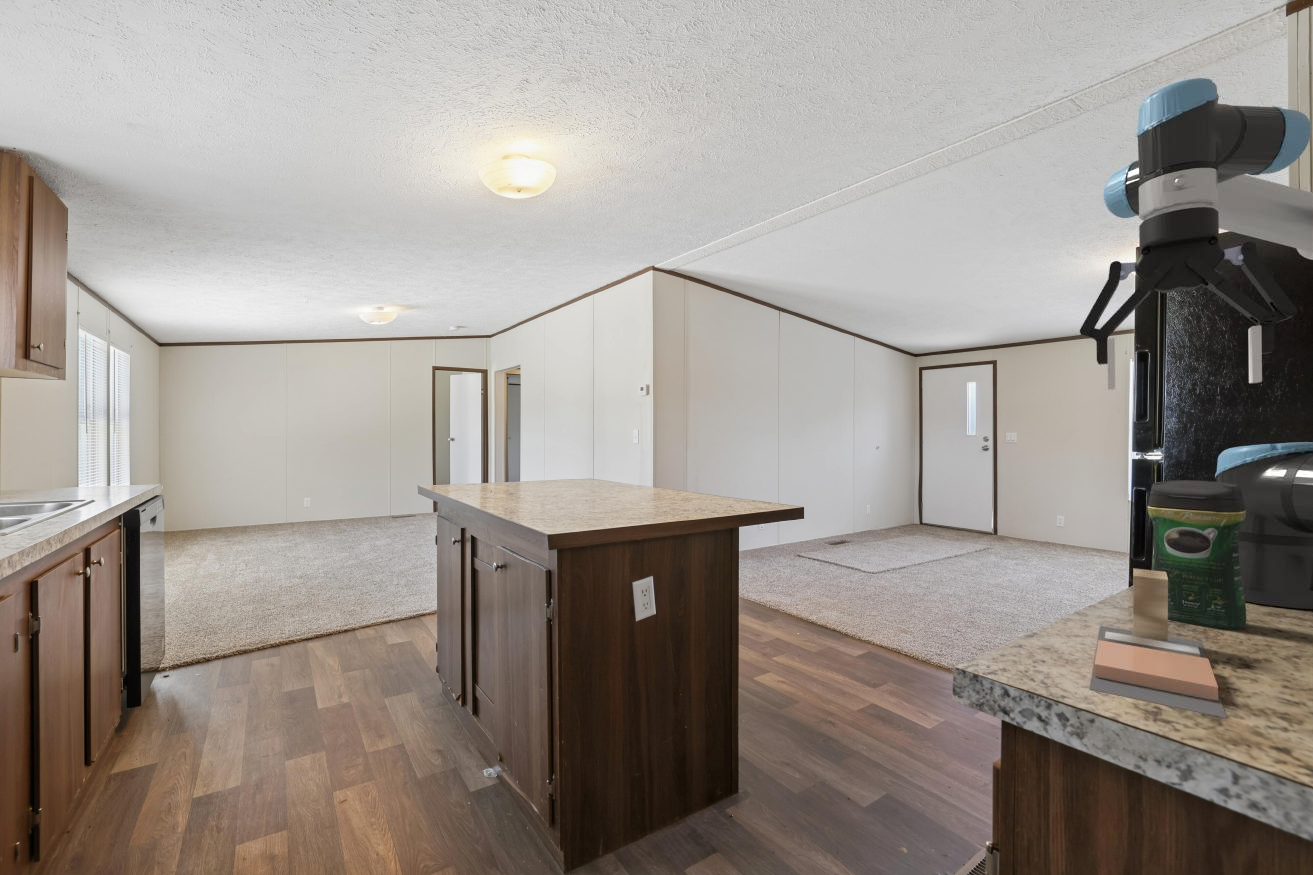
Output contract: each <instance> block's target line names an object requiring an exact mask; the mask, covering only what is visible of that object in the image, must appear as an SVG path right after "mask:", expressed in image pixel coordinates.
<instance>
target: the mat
mask: <svg viewBox="0 0 1313 875" xmlns="http://www.w3.org/2000/svg"><path fill="white" fill-rule="evenodd" d="M1106 632H1113V633H1119V634H1125V635H1131V636H1133V630H1130V629H1129V630H1128V629H1122V628H1116V627H1110V626H1104V625H1099V630H1098V636H1097V642H1096V647H1095V652H1094V654H1095V655H1094V659H1093V666H1092V672H1091V675H1090V682H1089V683H1090V684H1089V688H1088V689H1089V690H1090V691H1095V692H1100V693H1105V694H1109V695H1113V696H1118V697H1124V698H1128V699H1133V700H1138V701H1141V702H1142V701H1143V702H1148V703H1152V704H1156V705H1161V706H1167V707H1170V708H1175V709H1180V710H1184V711H1190V712H1194V713H1198V714H1204V715H1207V716H1208V715H1209V716H1213V717H1217V718H1222V719H1228V717H1227V715H1226V712H1225V709H1224V706H1223V702H1222V699H1221V697H1220V693H1219V692H1218V701H1217V700H1215V701H1212V700H1207V699H1202V698H1197V697H1192V696H1187V695H1182V694H1177V693H1172V692H1167V691H1162V690H1157V689H1152V688H1147V687H1142V686H1137V685H1132V684H1127V683H1122V682H1117V681H1112V680H1107V679H1102V678H1097V676H1094V675H1095V658H1096V652H1097V646H1098V640H1101V641H1105V633H1106ZM1168 642H1175V643H1181V644H1187V645H1193V646H1198V649H1199V652H1200V657H1202V658H1207V655H1206V652H1205V649H1204V647H1203V643H1202V642H1201V640H1200V641H1198V640H1193V639H1188V638H1187V639H1185V638H1181V637H1180V638H1179V637H1173V636H1168Z"/></svg>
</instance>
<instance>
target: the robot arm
mask: <svg viewBox="0 0 1313 875" xmlns="http://www.w3.org/2000/svg"><path fill="white" fill-rule="evenodd" d="M1219 97H1220V95H1219V94H1218V87H1217V84H1216V83H1215V82H1214V81H1213V80H1212V79H1210V78H1205V77H1204V78H1203V77H1196V78H1189V79H1183V80H1180V81H1177V82H1174V83H1172V84H1169V85H1166V86H1164V87H1161V88H1159V89H1158V90H1157V91H1154V92H1152V93H1151V94H1150V95H1148V96H1147V97H1146V98H1145V99H1144V100H1143V102H1141V105H1140V107H1139V109H1138V110H1139V111H1138V119H1137V120H1138V121H1137V132H1136V138H1137V152H1138V155H1137V156H1138V158H1137V160H1135V161H1132V162H1131V163H1130V164H1128V165H1127V166H1125V167H1123V168H1121V169H1120V170H1117V171H1116V172H1114V174H1112V175H1111V176H1110V177H1109V179H1108V180H1107V181H1106V184H1105V186H1104V189H1103V201H1104V204H1105V206H1106V209H1107V210H1108V211H1109V212H1110V213H1111V214H1113V215H1114V216H1116V217H1117V218H1121V219H1130V218H1135V217H1136V216H1137V217H1138V218H1139V219H1140V220H1141V221H1142V222H1141V223H1140V224H1139V226H1138V231H1139V232H1138V233H1139V234H1138V238H1139V243H1138V244H1139V246H1138V247H1139V257H1138V259H1137V261H1135V262H1120V261H1119V260H1115V261H1114V260H1113V262H1111V263H1110V265H1109V268H1108V272H1109V273H1108V278H1107V280H1106V282H1105V284H1104V286H1103V288H1102V289H1101V291H1100V293H1099V295H1098V297H1097V298H1096V300H1095V302H1094V304H1093V306H1092V307H1091V308H1090V311H1089V312H1088V313H1087V316H1086V318H1085V319H1084V322H1083V323H1082V325H1081V327H1080V328H1079V333H1080V334H1079V335H1080V336H1081V337H1083V338H1088V339H1092V340H1094V341H1095V343H1096V362H1097V364H1098V365H1099V366H1100V365H1101V366H1102V365H1107V390H1108V391H1111V390H1113V391H1115V390H1116V352H1115V351H1116V350H1115V348H1116V347H1115V345H1116V344H1115V339H1116V338H1115V337H1113V338H1109V337H1110V336H1111V335H1112V334H1113V333H1114V332H1115V331H1116V329H1118V327H1120V325H1121V324H1122V323H1123V322H1124V321H1125V320H1126V319H1127V318H1128V317H1129V316H1130V315H1131V314H1132V313H1133V312H1134V311H1135V310H1136V308H1138V306H1139V305H1141V303H1143V301H1144V300H1145V299H1147V297H1149V295H1150V294H1151V293H1152V292H1153V291H1156V292H1158V293H1161V294H1166V293H1167V294H1168V293H1172V292H1176V291H1193V290H1195V289H1198V288H1199V287H1201V286H1204V287H1205V288H1206V289H1208V290H1209V291H1211V292H1214V294H1216V295H1217V296H1219V298H1221V299H1223V300H1224V301H1225V302H1226V303H1227V304H1229V305H1230V306H1232V307H1233V308H1235V310H1237V311H1238V312H1239V313H1241V314H1242V315H1244V317H1246V318H1248V319H1249V320H1250V321H1251V322H1253V324H1255V325H1253V326H1250V327H1249V328H1248V338H1247V339H1248V383H1249V384H1258V383H1259V384H1260V383H1261V382H1263V369H1262V368H1263V363H1262V360H1263V356H1262V355H1264V354H1265V355H1266V354H1272V353H1273V351H1274V350H1275V325H1276V324H1278V323H1280V322H1283V321H1285V320H1289V319H1291V318H1292V317H1294V316H1295V315H1296V314H1297V313H1298V309H1297V307H1296V306H1295V305H1294V303H1293V302H1292V301H1291V299H1290V298H1289V296H1287V294H1286V293H1285V292H1284V291H1283V289H1282V288H1281V286H1280V285H1279V284H1278V283H1277V281H1276V280H1275V278H1274V277H1273V276H1272V275H1271V274H1270V272H1269V271H1268V269H1267V268H1266V267H1265V265H1263V263H1262V262H1261V260H1259V256H1258V250H1257V249H1258V248H1257V245H1256V243H1255V242H1254V241H1247V242H1244V243H1243V244H1242V245H1239V246H1235V247H1230V248H1226V249H1223V248H1222V247H1221V244H1220V234H1219V233H1220V232H1219V231H1220V230H1225V231H1228V232H1233V233H1236V234H1239V235H1244V236H1248V237H1252V238H1256V239H1260V240H1263V241H1268V242H1271V243H1275V244H1279V245H1283V246H1287V247H1290V248H1294V249H1296V251H1297V252H1298V254H1299V255H1300V256H1302V257H1303V258H1305V259H1308V260H1311V261H1313V192H1311V191H1308V190H1304V189H1301V188H1296V187H1292V186H1289V185H1285V184H1282V183H1277V182H1273V181H1270V180H1266V179H1262V178H1259V177H1256V176H1260V175H1265V174H1266V175H1267V174H1274V173H1277V172H1280V171H1283V170H1284V169H1286V168H1288V167H1289V166H1291V165H1292V164H1294V163H1295V162H1296V161H1297V160H1298V159H1299V158H1300V157H1301V155H1302V154H1303V153H1304V152H1305V150H1306V148H1307V147H1308V145H1309V142H1310V140H1311V136H1312V133H1311V132H1312V125H1311V121H1310V119H1309V118H1308V116H1307V115H1306V114H1305V113H1303V112H1301V111H1300V110H1296V109H1295V110H1294V109H1288V108H1283V107H1281V106H1273V105H1272V106H1253V105H1234V104H1233V105H1232V104H1231V105H1230V104H1227V103H1219V99H1220V98H1219ZM1254 176H1255V177H1254ZM1224 260H1228V261H1230V262H1231V264H1233V265H1235V266H1240V267H1241V269H1242V271H1243V273H1244V274H1245V276H1246V277H1247V278H1248V279H1249V280H1250V282H1251V283H1252V284H1253V286H1254V288H1255V289H1256V290H1257V291H1258V292H1259V294H1260V295H1261V296H1262V297H1263V298H1264V300H1265V302H1266V303H1267V304H1268V305H1269V307H1270V308H1271V309H1272V312H1270V311H1268V310H1267V309H1265V308H1264V307H1263V306H1261V304H1259V303H1257V302H1256V301H1255V300H1253V299H1252V297H1249V296H1248V295H1247V294H1245V293H1244V292H1242V291H1241V289H1239V288H1237V287H1236V286H1235V285H1233V284H1232V283H1231V282H1229V281H1228V280H1227V279H1226V278H1225V277H1224V276H1222V275H1221V274H1220V273H1219V272H1217V271H1216V270H1217V268H1218V267H1219V266H1220V265H1221V264H1222V262H1223V261H1224ZM1133 272H1135V274H1136V275H1138V277H1139V278H1141V280H1143V282H1142V283H1141V284H1140V285H1139V286H1138V287H1137V289H1136V290H1135V291H1134V292H1133V293H1132V294H1131V295H1130V296H1129V297H1128V298H1127V300H1125V302H1124V303H1123V304H1122V305H1121V306H1120V307H1118V309H1117V310H1116V311H1115V312H1114V314H1112V315H1111V317H1109V319H1107V321H1106V322H1105V323H1104V324H1103V325H1102V326H1101V327H1100V328H1096V326H1097V324H1098V323H1099V321H1100V318H1102V316H1103V313H1104V312H1105V310H1106V308H1107V307H1108V305H1109V304H1110V302H1111V300H1112V299H1113V296H1114V295H1115V292H1116V291H1117V289H1118V286H1119V284H1120V282H1121V281H1125V280H1126V279H1128V277H1129V275H1130V274H1132V273H1133ZM1214 478H1215V482H1219V483H1227V484H1235V485H1238V486H1239V487H1240V489H1241V492H1242V496H1243V501H1244V505H1245V511H1246V517H1245V520H1244V522H1243V524H1242V526H1241V527H1240V530H1239V539H1238V544H1239V563H1240V571H1241V578H1242V585H1243V591H1244V598H1245V602H1247V603H1248V602H1249V603H1254V604H1261V605H1266V606H1272V607H1273V606H1275V607H1280V608H1281V607H1282V608H1291V609H1303V610H1304V609H1306V610H1313V441H1312V442H1308V441H1304V442H1302V441H1299V442H1285V443H1283V442H1281V443H1266V444H1265V443H1263V444H1251V445H1242V446H1235V447H1230V448H1227V449H1225V450H1223V451H1222V452H1221V453H1219V455H1218V457H1217V465H1216V472H1215V474H1214Z"/></svg>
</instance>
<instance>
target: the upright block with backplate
mask: <svg viewBox="0 0 1313 875" xmlns="http://www.w3.org/2000/svg"><path fill="white" fill-rule="evenodd" d="M1132 569H1133V570H1132V571H1133V573H1132V576H1133V580H1132V585H1133V586H1132V588H1133V589H1132V594H1133V595H1132V631H1133V636H1131V635H1125V634H1119V633H1113V632H1106V633H1105V641H1107V642H1113V643H1119V644H1125V645H1131V646H1137V647H1143V648H1149V649H1154V650H1160V651H1166V652H1172V653H1178V654H1184V655H1190V656H1196V657H1200V652H1199V649H1198V646H1193V645H1187V644H1181V643H1175V642H1168V637H1169V636H1168V631H1169V630H1168V629H1169V628H1168V627H1169V624H1168V623H1169V622H1168V621H1169V620H1168V578H1167V574H1166V572H1162V571H1153V570H1152V569H1151V570H1150V569H1144V568H1143V569H1142V568H1134V567H1133V568H1132Z"/></svg>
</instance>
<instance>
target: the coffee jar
mask: <svg viewBox="0 0 1313 875" xmlns="http://www.w3.org/2000/svg"><path fill="white" fill-rule="evenodd" d="M1148 498H1149V499H1148V504H1147V506H1146V507H1147V513H1148V516H1149V518H1150V520H1151V522H1152V528H1153V529H1152V530H1153V552H1152V562H1151V564H1152V565H1151V570H1153V571H1162V572H1166V574H1167V578H1168V621H1172V622H1173V621H1174V622H1178V623H1182V624H1188V625H1192V626H1198V627H1199V626H1200V627H1205V628H1210V629H1216V630H1225V631H1228V630H1237V631H1239V630H1241V629H1243V628H1244V627H1245V626H1246V624H1247V608H1246V601H1245V598H1244V591H1243V585H1242V578H1241V571H1240V563H1239V544H1238V539H1239V530H1240V527H1241V526H1242V524H1243V522H1244V520H1245V517H1246V511H1245V505H1244V501H1243V496H1242V492H1241V489H1240V487H1239V486H1238V485H1235V484H1227V483H1219V482H1216V481H1208V480H1191V479H1188V480H1186V479H1185V480H1165V481H1158V482H1157V481H1156V482H1153V484H1152V485H1151V489H1150V492H1149V497H1148Z"/></svg>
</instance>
